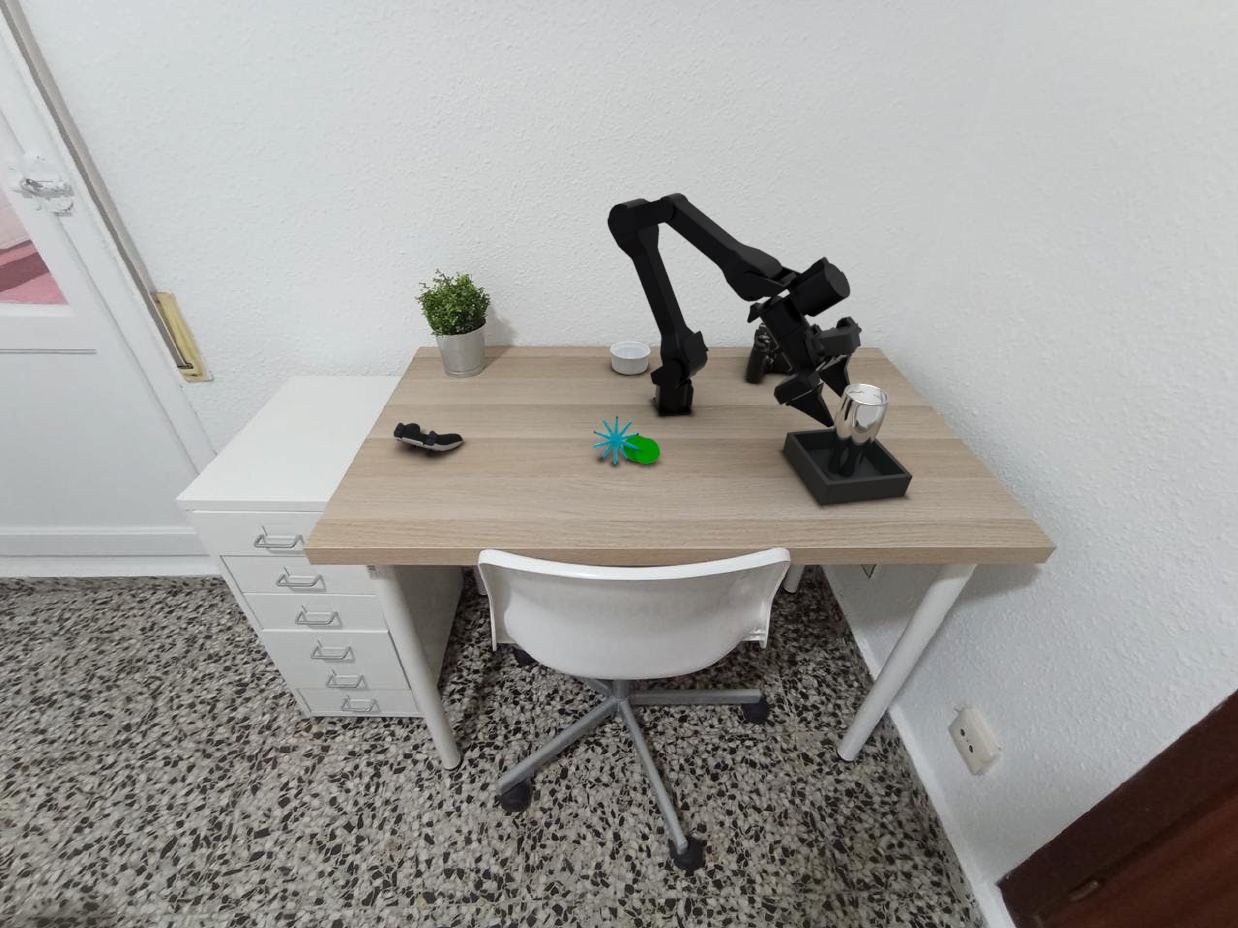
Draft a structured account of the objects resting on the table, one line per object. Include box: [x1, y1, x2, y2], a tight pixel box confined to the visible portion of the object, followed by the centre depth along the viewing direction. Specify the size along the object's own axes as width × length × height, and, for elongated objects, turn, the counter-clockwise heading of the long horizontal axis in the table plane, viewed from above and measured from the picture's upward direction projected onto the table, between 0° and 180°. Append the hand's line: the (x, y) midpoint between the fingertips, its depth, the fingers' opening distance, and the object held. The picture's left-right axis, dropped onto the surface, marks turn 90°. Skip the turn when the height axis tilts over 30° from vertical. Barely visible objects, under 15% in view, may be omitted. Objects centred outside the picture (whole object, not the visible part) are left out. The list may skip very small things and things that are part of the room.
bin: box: [782, 427, 914, 506], centre depth 92 cm, size 15×15×4 cm
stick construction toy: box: [592, 415, 661, 465], centre depth 96 cm, size 12×7×8 cm
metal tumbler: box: [822, 383, 890, 480], centre depth 88 cm, size 7×7×15 cm
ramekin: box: [609, 340, 651, 376], centre depth 121 cm, size 9×9×4 cm
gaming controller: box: [392, 422, 464, 454], centre depth 95 cm, size 11×4×7 cm
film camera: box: [745, 321, 791, 384], centre depth 120 cm, size 18×12×10 cm
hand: (841, 414), depth 88 cm, fingers open, 9 cm apart
